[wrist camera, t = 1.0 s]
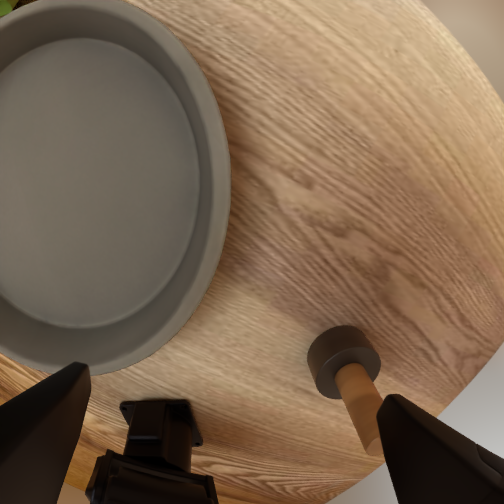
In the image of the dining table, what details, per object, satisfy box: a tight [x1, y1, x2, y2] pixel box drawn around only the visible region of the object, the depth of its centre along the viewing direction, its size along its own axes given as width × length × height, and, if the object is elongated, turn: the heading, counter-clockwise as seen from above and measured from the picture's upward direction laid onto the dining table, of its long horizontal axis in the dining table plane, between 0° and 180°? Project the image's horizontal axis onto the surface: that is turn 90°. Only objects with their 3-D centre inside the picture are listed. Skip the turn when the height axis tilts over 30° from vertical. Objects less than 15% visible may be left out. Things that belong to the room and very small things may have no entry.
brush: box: [307, 326, 384, 456], centre depth 20 cm, size 5×5×10 cm
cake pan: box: [0, 0, 231, 376], centre depth 16 cm, size 25×25×4 cm
